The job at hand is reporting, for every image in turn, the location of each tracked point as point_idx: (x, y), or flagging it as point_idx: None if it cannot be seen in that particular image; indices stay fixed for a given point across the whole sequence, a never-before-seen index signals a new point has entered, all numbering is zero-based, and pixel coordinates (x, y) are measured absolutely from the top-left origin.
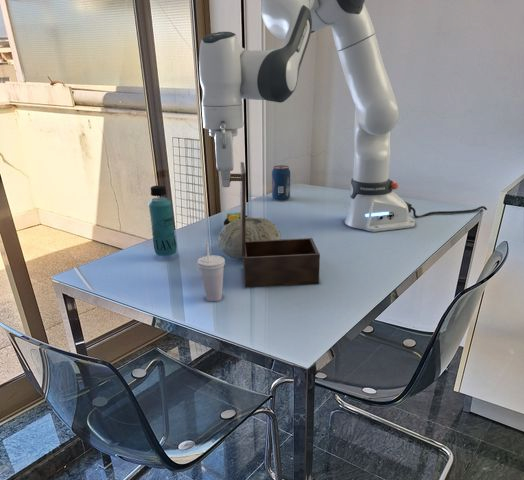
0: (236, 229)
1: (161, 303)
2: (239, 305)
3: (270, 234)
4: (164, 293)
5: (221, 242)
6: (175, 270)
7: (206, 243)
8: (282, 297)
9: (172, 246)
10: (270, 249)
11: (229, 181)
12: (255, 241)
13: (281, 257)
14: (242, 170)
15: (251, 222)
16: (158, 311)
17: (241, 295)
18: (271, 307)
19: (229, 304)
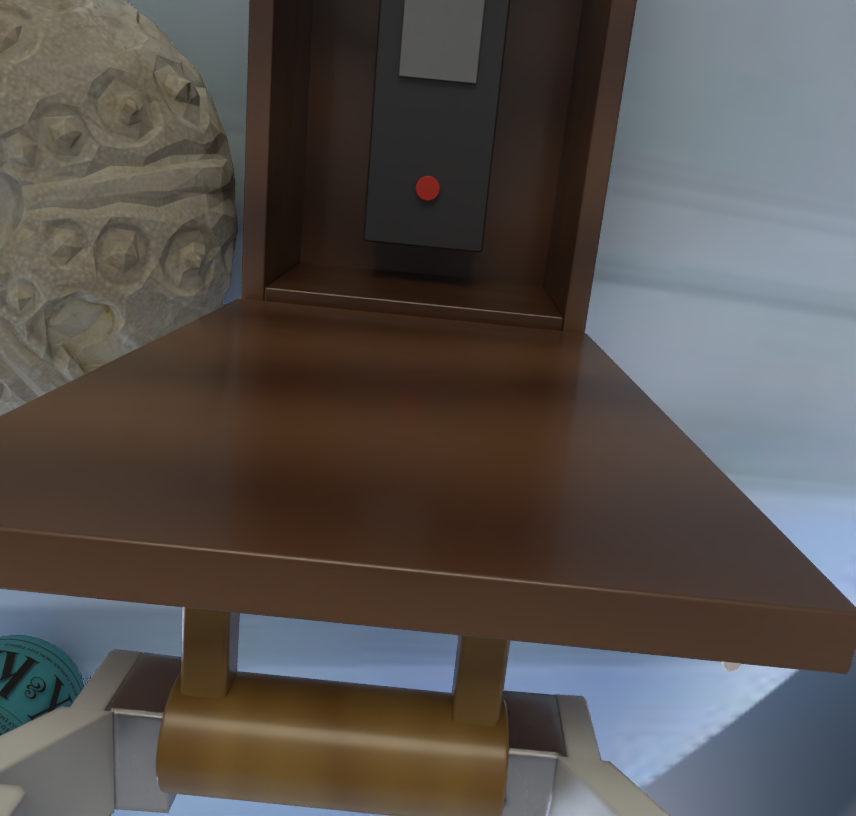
0: (45, 330)
1: (622, 700)
2: (764, 362)
3: (97, 50)
4: (516, 686)
5: None
6: (239, 631)
7: (737, 664)
8: (746, 110)
9: (42, 679)
10: (286, 89)
11: (593, 739)
12: (261, 206)
13: (624, 61)
14: (598, 638)
15: None
16: (700, 713)
17: (648, 336)
18: (848, 199)
19: (735, 410)
